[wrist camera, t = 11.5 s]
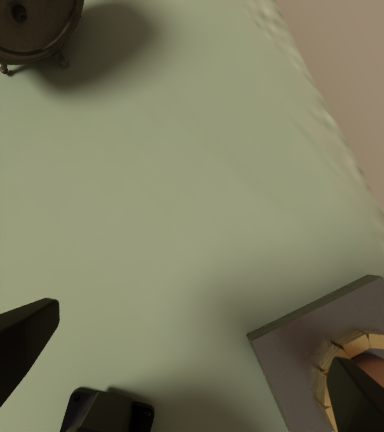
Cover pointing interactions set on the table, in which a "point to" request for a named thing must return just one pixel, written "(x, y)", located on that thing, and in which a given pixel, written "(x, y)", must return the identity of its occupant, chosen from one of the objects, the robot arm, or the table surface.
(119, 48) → the table surface
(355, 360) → the orange tapered capsule
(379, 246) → the table surface
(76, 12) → the alarm clock
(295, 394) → the plate
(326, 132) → the table surface
